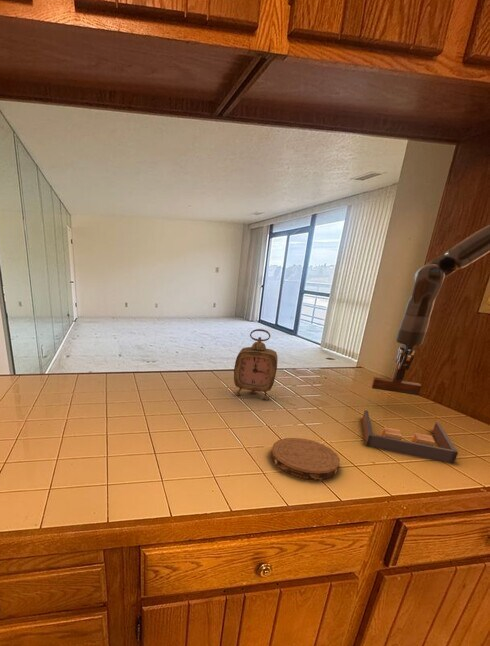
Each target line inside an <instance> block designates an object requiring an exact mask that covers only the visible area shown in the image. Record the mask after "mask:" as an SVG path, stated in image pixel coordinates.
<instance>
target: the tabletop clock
mask: <svg viewBox="0 0 490 646" xmlns="http://www.w3.org/2000/svg"><path fill="white" fill-rule="evenodd" d="M255 332H264V333H266V334H267V335H268V337H267V338H264V339H263V338H262V337H261V336H258V337H257V338H254V337H253V335H252V334H253V333H255ZM249 337H250V339H251V340H253V341H255V342H254V343H252V345H251V346H247V347H246V346H245V347H242V348H241V349H240V351H239V352H238V354H237V356H236V358H235V362H234V366H233V367H234V368H233V382H234V385H235V387H237V388H239V389H238V390H236V391H235V392H234V394H235V396H237V397H238V396H240V392H241V391H242V390H247V391H250V393H251V394H253V395H254V394H256V393H257V392H263V393H264V395H265V396H264V400H266V401H268V400H269V399H270V396H269V395H268V394H267V392H270V391H271V390H272V388H273V386H274V383H275V378H276V375H277V371H278V362H279V361H278V354H277V351H275V350H274V349H271V348H267V346H266V343H264V342H266V341H269V340H270V339H271V333H270V332H269V330H267V329H262V328H256V329H253V330H252V331H251V332H250V334H249Z"/></svg>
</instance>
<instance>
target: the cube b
mask: <svg viewBox="0 0 490 646" xmlns="http://www.w3.org/2000/svg"><path fill="white" fill-rule="evenodd" d="M411 442H414V443H419V444H424V445H429V446H435V443H436V442H435V440H434V436H433V435H429V434H426V433H425V434H424V433H419V432H414V433H413V435H412V438H411Z"/></svg>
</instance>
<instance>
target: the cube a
mask: <svg viewBox="0 0 490 646" xmlns="http://www.w3.org/2000/svg"><path fill="white" fill-rule="evenodd" d="M381 436H382V437H388V438H393V439H398V440H402V438H403V434H402V431H401V429H395V428H391V427H386V426H385V427H383V429H382V433H381Z"/></svg>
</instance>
